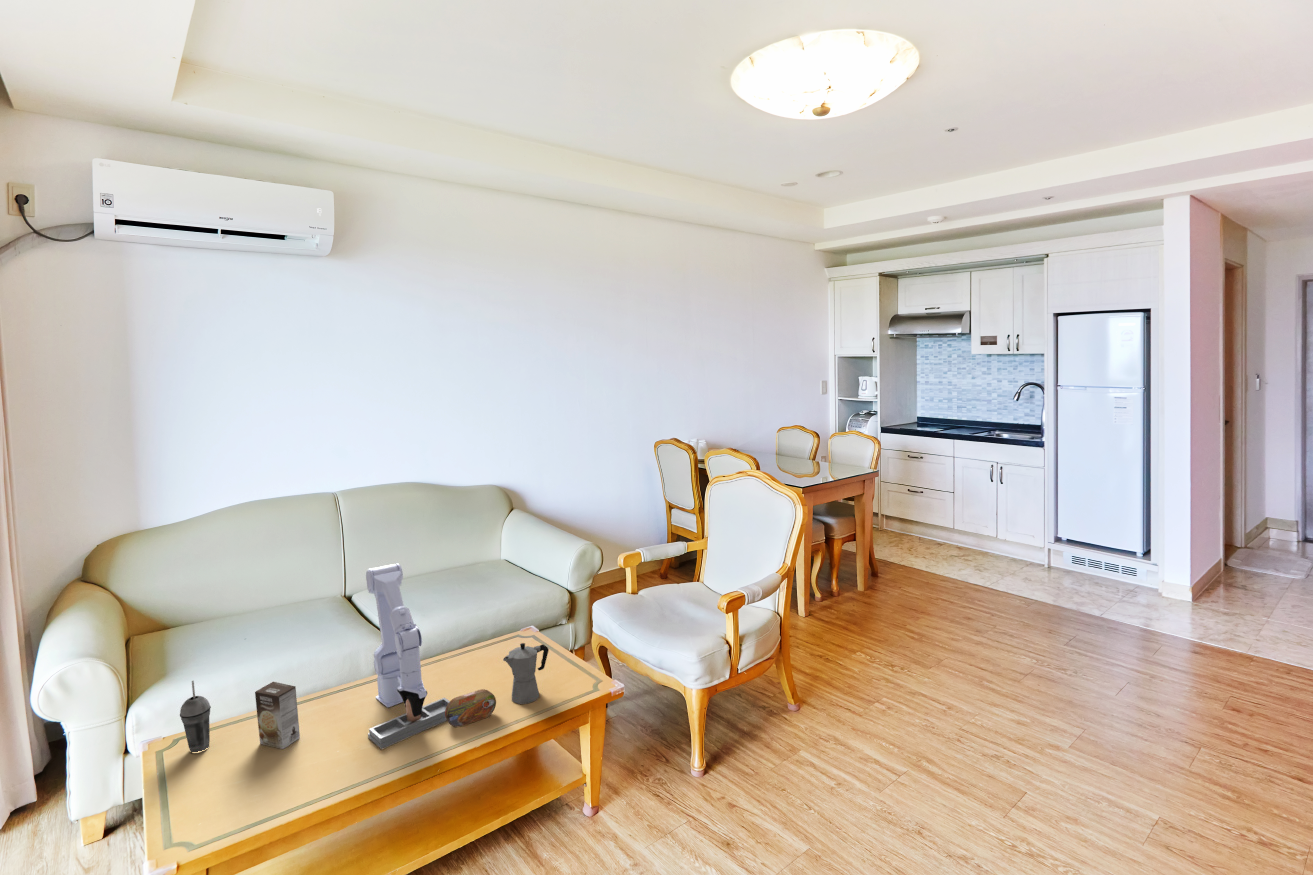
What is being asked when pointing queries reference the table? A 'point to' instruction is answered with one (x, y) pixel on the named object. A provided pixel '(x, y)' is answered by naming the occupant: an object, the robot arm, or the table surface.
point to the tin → (470, 708)
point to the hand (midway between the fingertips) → (413, 712)
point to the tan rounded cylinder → (409, 713)
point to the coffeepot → (525, 672)
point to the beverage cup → (196, 721)
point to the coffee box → (277, 715)
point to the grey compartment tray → (408, 725)
